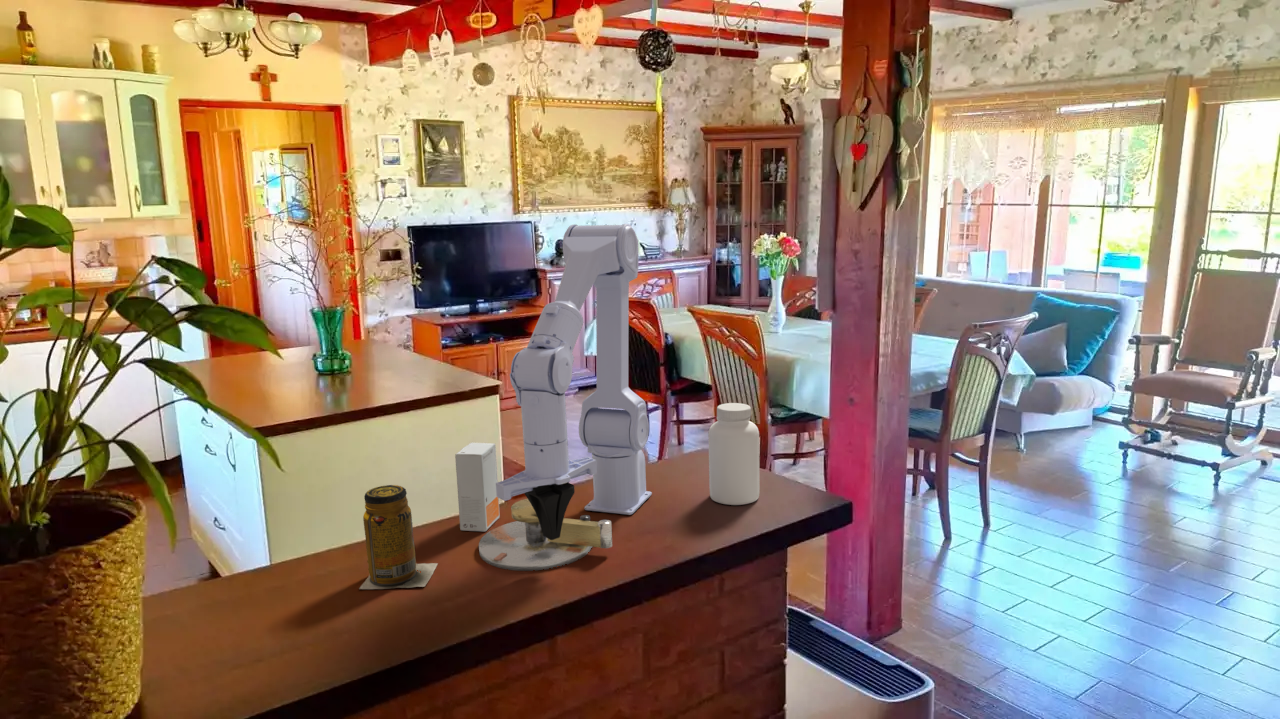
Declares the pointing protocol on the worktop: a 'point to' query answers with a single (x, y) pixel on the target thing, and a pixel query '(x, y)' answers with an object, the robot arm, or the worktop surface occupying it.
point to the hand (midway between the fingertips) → (551, 536)
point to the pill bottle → (734, 456)
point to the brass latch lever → (569, 527)
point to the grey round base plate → (527, 548)
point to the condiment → (391, 541)
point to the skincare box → (477, 486)
